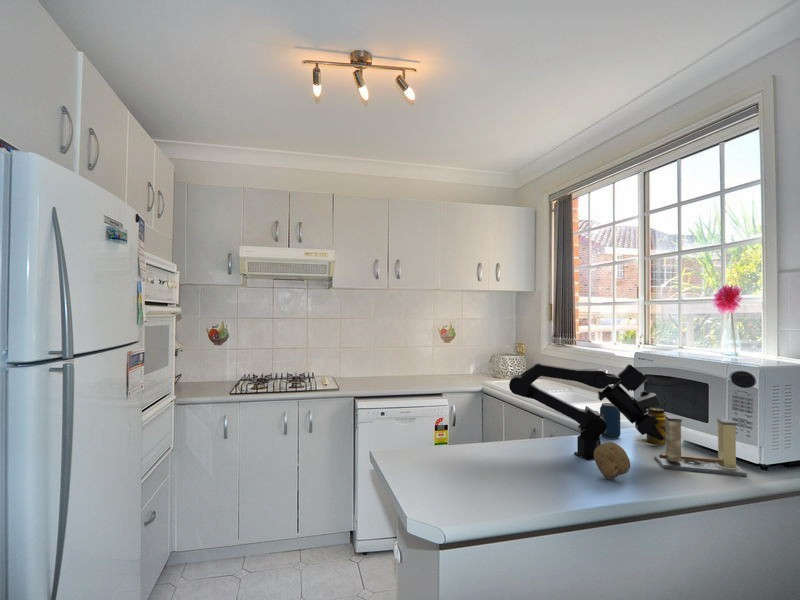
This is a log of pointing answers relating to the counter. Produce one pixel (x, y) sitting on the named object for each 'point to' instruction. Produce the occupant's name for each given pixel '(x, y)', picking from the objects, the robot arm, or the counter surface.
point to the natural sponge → (611, 460)
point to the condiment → (661, 427)
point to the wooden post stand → (710, 465)
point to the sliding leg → (673, 438)
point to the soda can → (610, 420)
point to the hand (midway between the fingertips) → (662, 439)
